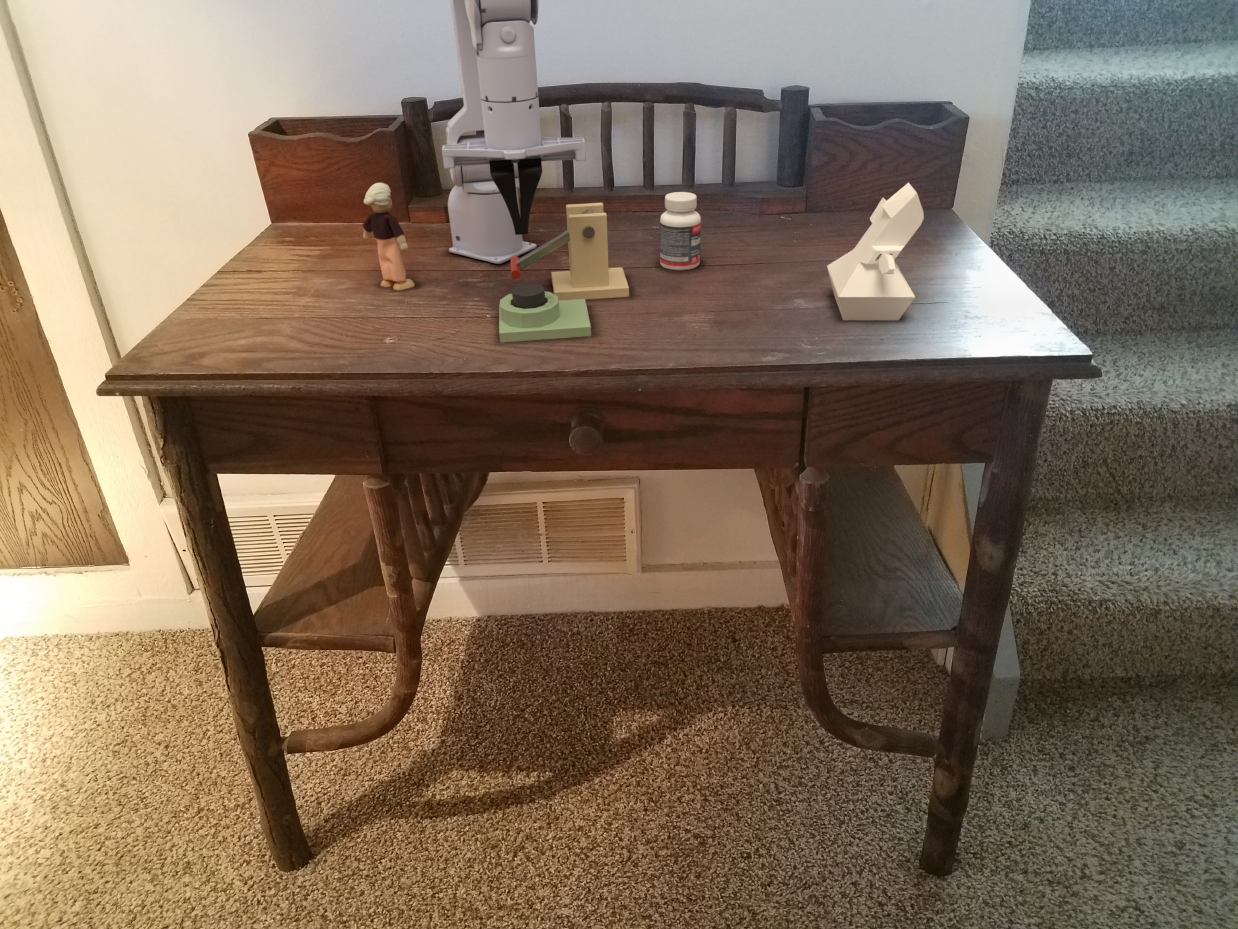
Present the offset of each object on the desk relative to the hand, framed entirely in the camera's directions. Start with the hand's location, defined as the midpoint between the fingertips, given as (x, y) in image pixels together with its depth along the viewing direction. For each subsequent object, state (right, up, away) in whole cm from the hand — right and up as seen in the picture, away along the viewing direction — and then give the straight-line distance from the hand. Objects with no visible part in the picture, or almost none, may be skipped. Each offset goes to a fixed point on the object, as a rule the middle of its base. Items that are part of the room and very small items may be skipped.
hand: (521, 231), depth 94 cm
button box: (+2, -9, +5) cm, 11 cm away
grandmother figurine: (-18, -2, +17) cm, 25 cm away
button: (+1, -7, +3) cm, 8 cm away
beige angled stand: (+39, -7, +6) cm, 40 cm away
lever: (+3, 0, +11) cm, 11 cm away
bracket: (+7, -3, +14) cm, 16 cm away
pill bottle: (+19, +1, +20) cm, 27 cm away
